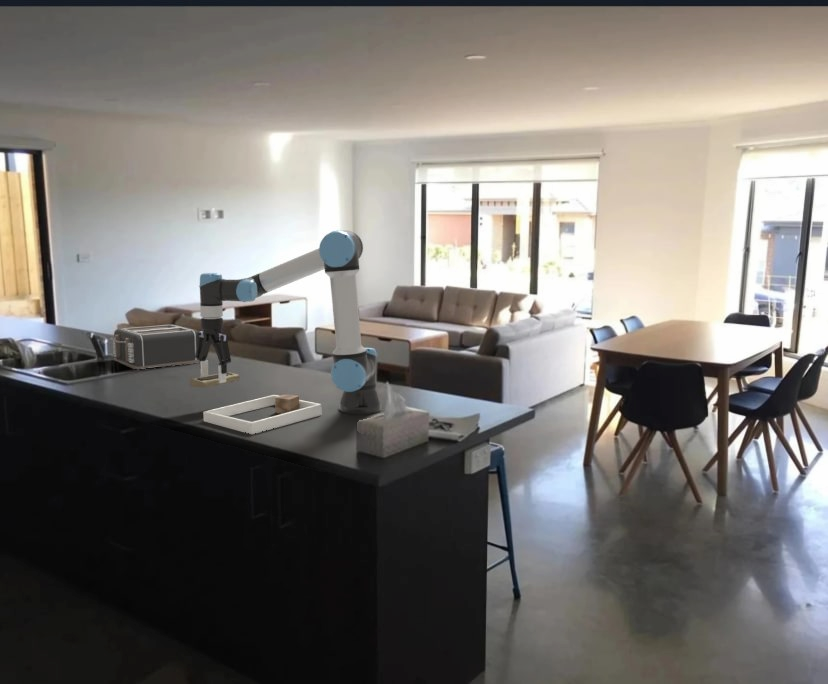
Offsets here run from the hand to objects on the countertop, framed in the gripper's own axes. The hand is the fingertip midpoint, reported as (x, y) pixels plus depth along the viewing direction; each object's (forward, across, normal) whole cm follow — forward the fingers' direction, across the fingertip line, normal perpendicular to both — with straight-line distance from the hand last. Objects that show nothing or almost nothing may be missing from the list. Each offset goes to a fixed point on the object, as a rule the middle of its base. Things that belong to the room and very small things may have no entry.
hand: (213, 380), depth 259 cm
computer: (+3, -3, 0) cm, 4 cm away
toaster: (+12, +95, -41) cm, 104 cm away
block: (+11, -21, -15) cm, 28 cm away
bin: (+11, -21, -4) cm, 24 cm away
